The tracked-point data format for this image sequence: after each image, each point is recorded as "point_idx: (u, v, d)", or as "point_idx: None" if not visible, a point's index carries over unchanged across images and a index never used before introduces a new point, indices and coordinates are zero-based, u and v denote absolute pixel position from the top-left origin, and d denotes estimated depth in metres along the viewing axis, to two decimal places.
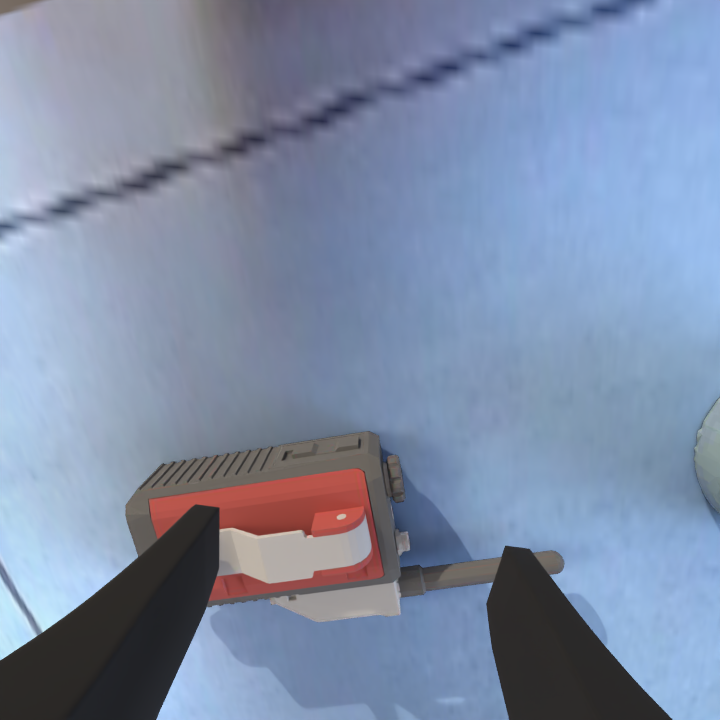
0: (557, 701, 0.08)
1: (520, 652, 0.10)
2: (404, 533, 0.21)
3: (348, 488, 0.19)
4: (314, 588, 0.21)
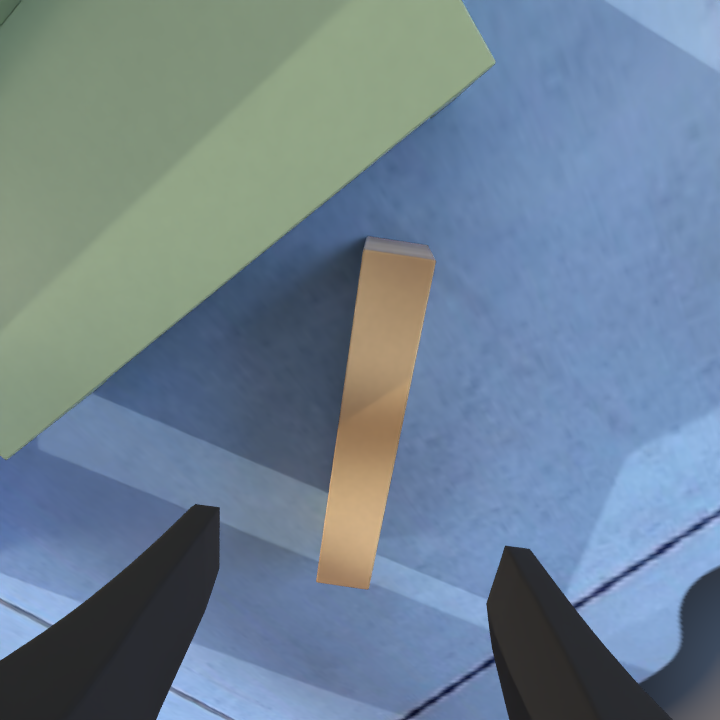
0: (557, 701, 0.08)
1: (520, 651, 0.10)
2: None
3: None
4: None
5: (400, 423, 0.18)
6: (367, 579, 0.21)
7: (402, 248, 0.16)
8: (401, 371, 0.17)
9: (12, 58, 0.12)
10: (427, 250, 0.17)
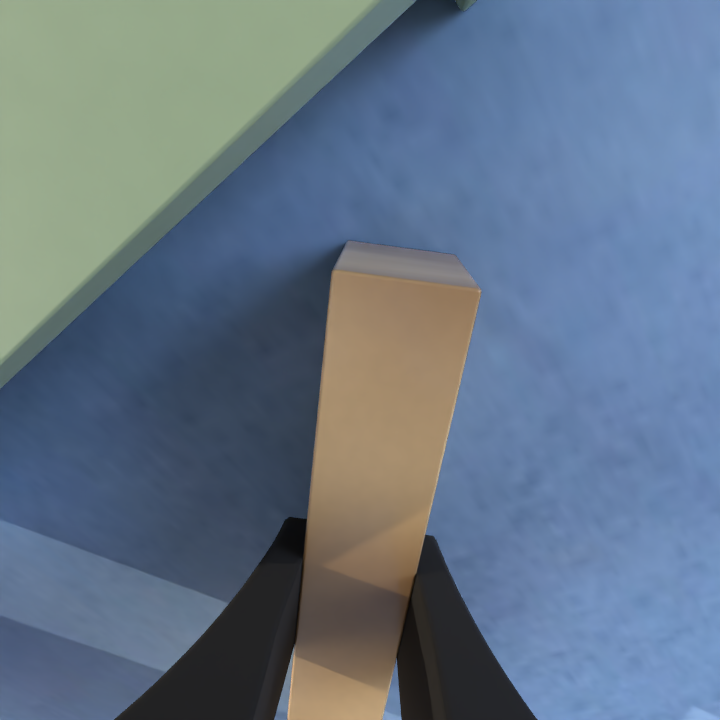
0: (425, 683, 0.08)
1: (409, 637, 0.10)
2: None
3: None
4: None
5: (412, 576, 0.10)
6: None
7: (411, 263, 0.09)
8: (413, 492, 0.09)
9: None
10: (458, 266, 0.09)
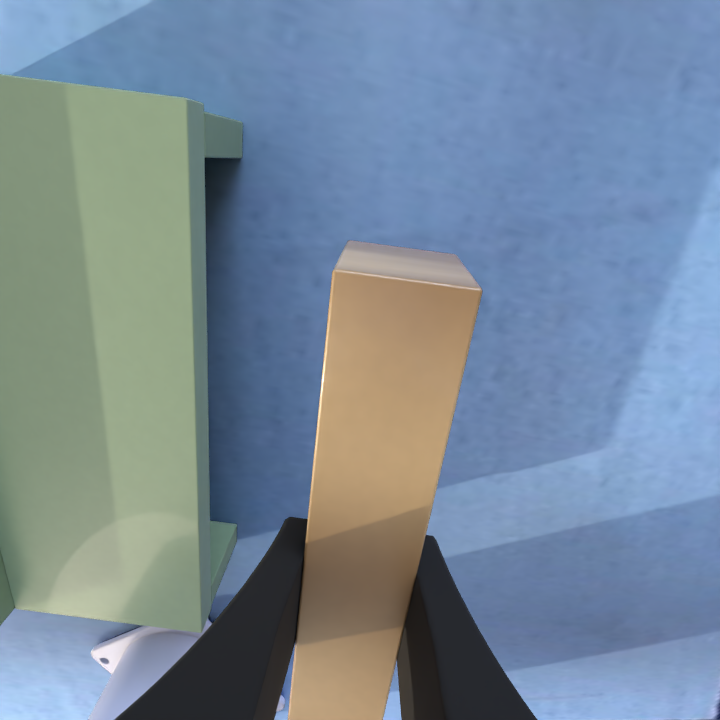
0: (425, 683, 0.08)
1: (409, 637, 0.10)
2: None
3: None
4: None
5: (412, 576, 0.10)
6: None
7: (412, 263, 0.09)
8: (414, 492, 0.09)
9: None
10: (459, 265, 0.09)
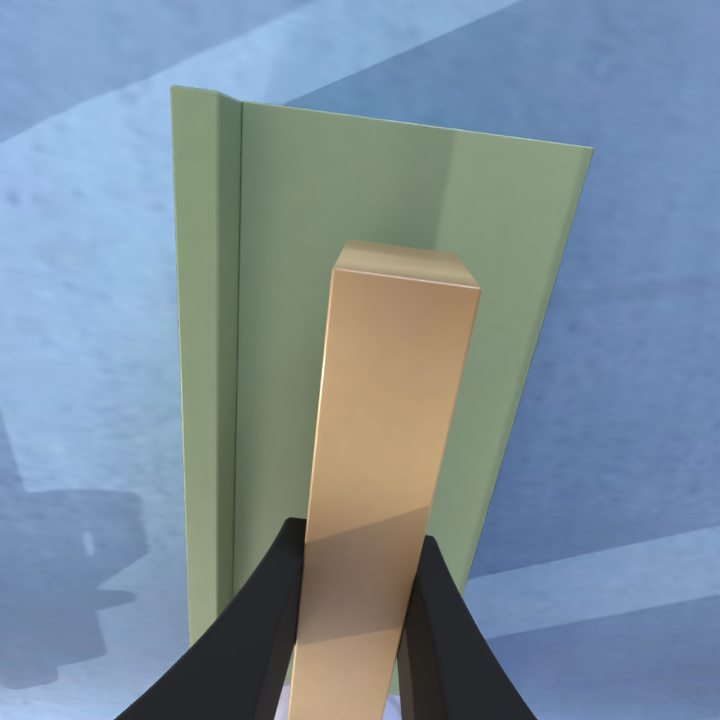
0: (425, 683, 0.08)
1: (409, 637, 0.10)
2: None
3: None
4: None
5: (412, 575, 0.10)
6: None
7: (411, 262, 0.09)
8: (413, 492, 0.09)
9: (255, 454, 0.14)
10: (458, 264, 0.09)
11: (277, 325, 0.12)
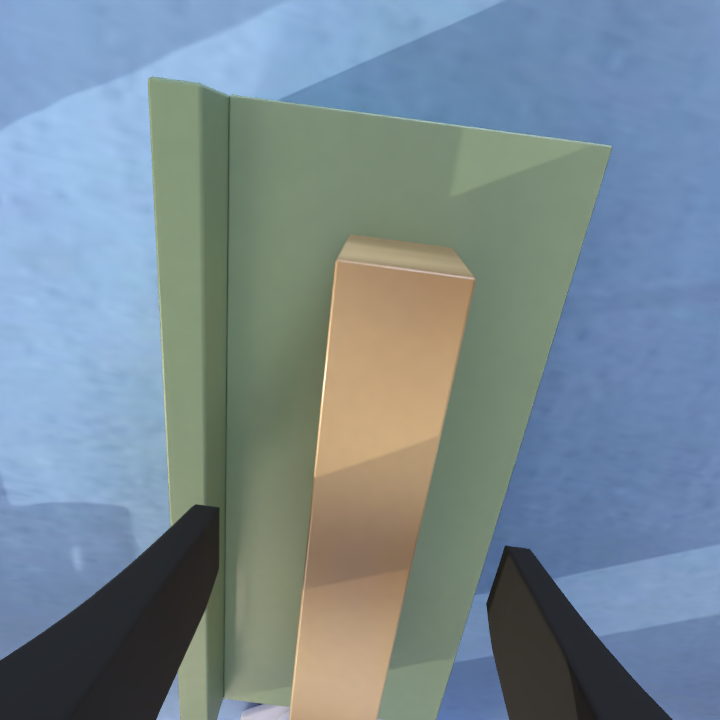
0: (557, 701, 0.08)
1: (520, 652, 0.10)
2: None
3: None
4: None
5: (411, 554, 0.10)
6: None
7: (410, 255, 0.09)
8: (411, 472, 0.09)
9: (246, 473, 0.13)
10: (455, 257, 0.09)
11: (269, 337, 0.12)
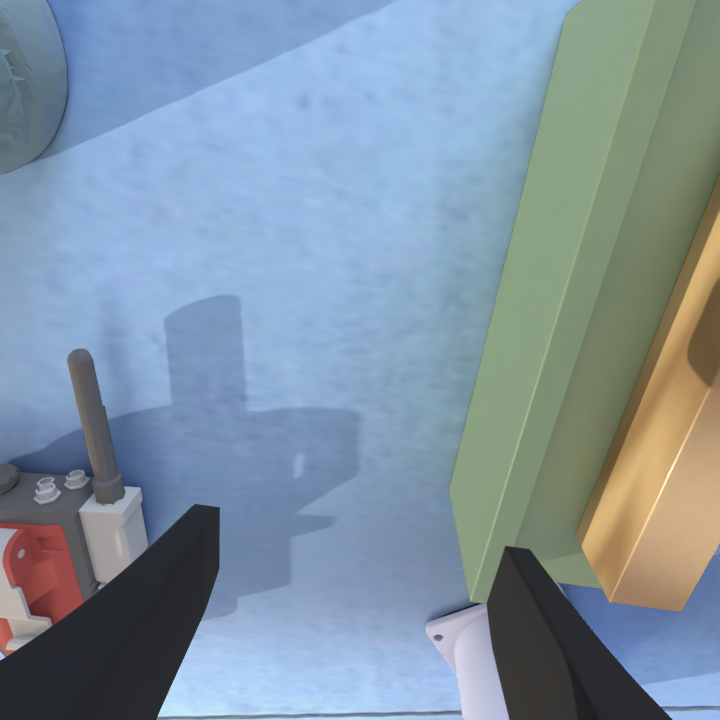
0: (557, 701, 0.08)
1: (520, 652, 0.10)
2: (42, 487, 0.22)
3: None
4: (78, 573, 0.23)
5: None
6: (685, 598, 0.15)
7: None
8: None
9: None
10: None
11: (647, 194, 0.13)
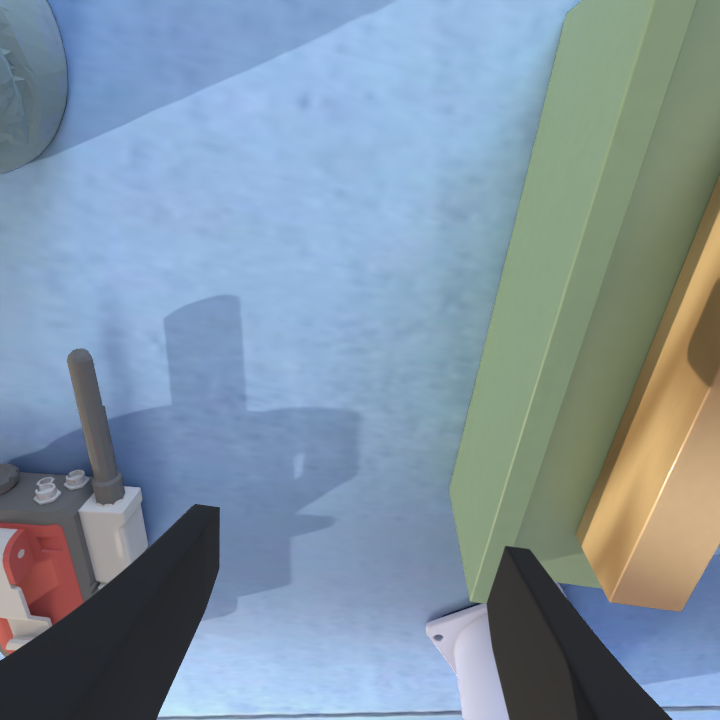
0: (557, 701, 0.08)
1: (520, 652, 0.10)
2: (41, 487, 0.22)
3: None
4: (78, 573, 0.23)
5: None
6: (685, 598, 0.15)
7: None
8: None
9: None
10: None
11: (647, 194, 0.13)
